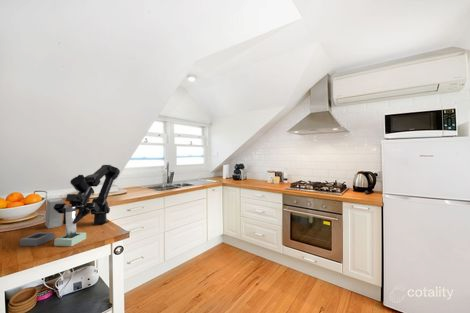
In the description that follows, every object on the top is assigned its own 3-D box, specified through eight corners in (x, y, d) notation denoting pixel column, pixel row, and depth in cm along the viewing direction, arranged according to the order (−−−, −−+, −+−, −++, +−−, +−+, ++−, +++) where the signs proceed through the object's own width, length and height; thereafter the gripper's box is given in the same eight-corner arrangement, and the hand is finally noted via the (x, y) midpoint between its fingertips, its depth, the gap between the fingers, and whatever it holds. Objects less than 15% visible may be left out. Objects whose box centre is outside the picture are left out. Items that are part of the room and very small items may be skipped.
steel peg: (66, 238, 96) (66, 206, 96) (77, 236, 98) (77, 205, 98) (64, 241, 93) (64, 208, 93) (75, 239, 95) (75, 207, 95)
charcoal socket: (38, 238, 100) (38, 232, 100) (54, 238, 99) (54, 232, 99) (19, 245, 91) (19, 239, 91) (36, 246, 91) (36, 239, 91)
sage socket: (70, 238, 100) (70, 232, 100) (86, 238, 99) (86, 232, 99) (54, 245, 92) (54, 239, 92) (71, 246, 91) (71, 239, 91)
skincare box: (44, 225, 117) (44, 199, 117) (60, 222, 122) (60, 197, 122) (47, 229, 112) (48, 201, 112) (64, 225, 117) (64, 199, 117)
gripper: (55, 187, 98) (36, 216, 87) (96, 187, 101) (82, 214, 90) (67, 199, 106) (51, 227, 95) (104, 198, 108) (92, 225, 98)
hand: (69, 223), depth 94 cm, fingers closed on steel peg, 4 cm apart
